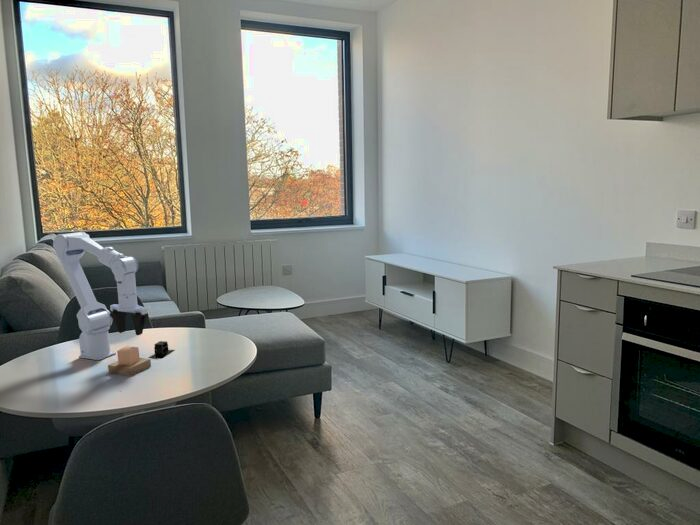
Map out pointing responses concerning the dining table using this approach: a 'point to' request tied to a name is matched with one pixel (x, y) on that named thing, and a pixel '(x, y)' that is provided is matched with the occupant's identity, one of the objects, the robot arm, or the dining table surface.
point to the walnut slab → (129, 367)
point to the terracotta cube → (128, 355)
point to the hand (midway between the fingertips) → (130, 333)
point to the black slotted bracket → (161, 350)
